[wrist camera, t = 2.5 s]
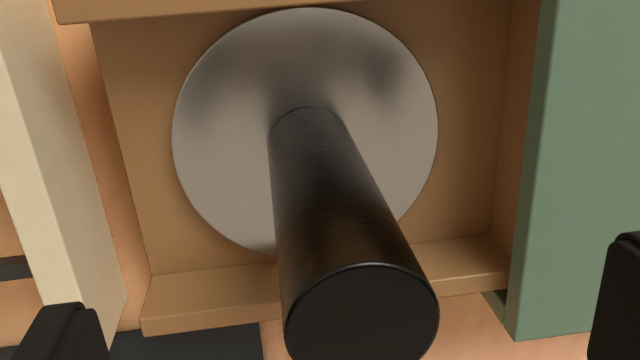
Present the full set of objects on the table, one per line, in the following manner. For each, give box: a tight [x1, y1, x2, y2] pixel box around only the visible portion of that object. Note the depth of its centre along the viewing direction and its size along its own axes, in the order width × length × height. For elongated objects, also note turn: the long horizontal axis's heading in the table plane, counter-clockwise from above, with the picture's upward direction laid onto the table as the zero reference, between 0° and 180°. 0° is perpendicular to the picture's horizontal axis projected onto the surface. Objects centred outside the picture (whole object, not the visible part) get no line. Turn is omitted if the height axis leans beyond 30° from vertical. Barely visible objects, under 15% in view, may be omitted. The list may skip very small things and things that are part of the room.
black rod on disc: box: [171, 4, 440, 360], centre depth 13 cm, size 9×9×10 cm
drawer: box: [0, 0, 541, 350], centre depth 17 cm, size 21×13×4 cm, turn 94°
